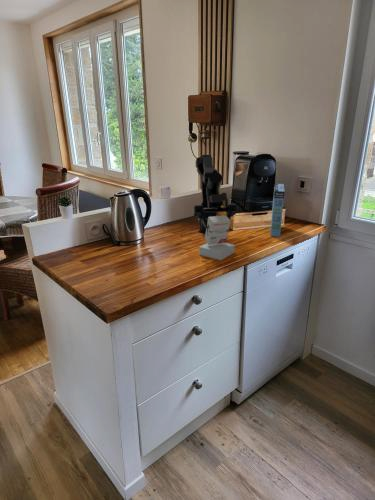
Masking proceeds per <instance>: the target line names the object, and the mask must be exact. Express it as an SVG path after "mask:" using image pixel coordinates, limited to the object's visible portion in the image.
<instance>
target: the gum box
mask: <svg viewBox="0 0 375 500" xmlns="http://www.w3.org/2000/svg"><path fill="white" fill-rule="evenodd" d="M273 189H274V190H273V199H272V209H271V210H272V211H271V220H270V221H271V222H270V223H271V224H270V237H274V238H280V237H281V232H282V231H281V229H282V220H283V210H284V200H285V194H286V193H285V192H286V191H285V184H284V183H274V187H273Z"/></svg>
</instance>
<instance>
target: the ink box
mask: <svg viewBox="0 0 375 500" xmlns="http://www.w3.org/2000/svg"><path fill="white" fill-rule="evenodd" d="M226 215H227V214H224V215H216V216H212V217H208V222H207V229H206V233H204V240H205V243H207V244H208V245H213V244H221V243H227V240H228V236H229V235H228V234H229V231H230V225H231V218H230V219H229V218H228V217H227V216H226Z"/></svg>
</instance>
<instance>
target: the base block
mask: <svg viewBox="0 0 375 500" xmlns="http://www.w3.org/2000/svg"><path fill="white" fill-rule="evenodd" d="M198 251H199V255H200V256H203V257H206V258H210V259H215V260H218V261H222V260H224V259H225V258H227V257H229V256H230V255H233V254H234V253H235V244H234V243H229V242H226V243H221V244H213V245H208V244H207V242H205V243H204V244H203V245H200V246H199V249H198Z"/></svg>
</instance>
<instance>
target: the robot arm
mask: <svg viewBox="0 0 375 500" xmlns="http://www.w3.org/2000/svg"><path fill="white" fill-rule="evenodd" d="M213 161H214V160H213V157H212V155H211V154H201V155H200V156H199V157H197V158H195V164H194V165H195V168H196V172H197V173H198V175H199V176H200V187H201V188H200V189H201V204H196V205H194V206H193V212H192V214H193V217H195V218H196V219H197V221H198V222H199V230H198V231H197V232H198V233H203V234H206V229H207V222H208V217H212V216H217V213H226V214H225V215H226V216H227V217H228V218H229V219H230V220H231V218H232V217H234V216H235V215H236V214H237V212H238V205H237V204H236V203H228V204H227V205H226V207H225V206H224V207H223V203H224V202H225V201H227V200H228V196H227V192H222V193H221V194H220V188H221V185H222V181H223V175H222V174H221V173H220V172H219V170H218V169H216V168H214V162H213Z"/></svg>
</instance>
